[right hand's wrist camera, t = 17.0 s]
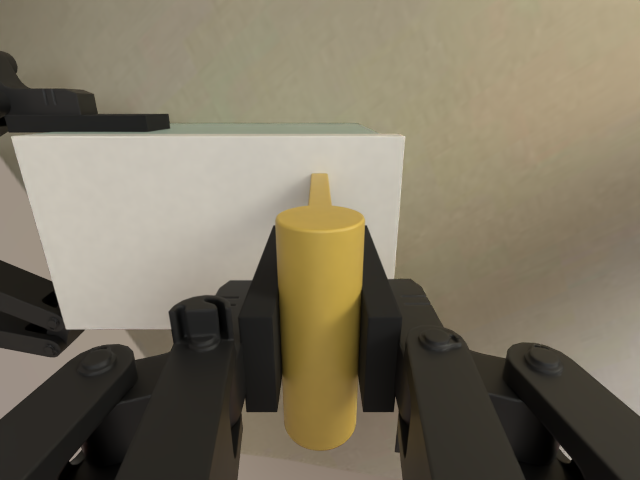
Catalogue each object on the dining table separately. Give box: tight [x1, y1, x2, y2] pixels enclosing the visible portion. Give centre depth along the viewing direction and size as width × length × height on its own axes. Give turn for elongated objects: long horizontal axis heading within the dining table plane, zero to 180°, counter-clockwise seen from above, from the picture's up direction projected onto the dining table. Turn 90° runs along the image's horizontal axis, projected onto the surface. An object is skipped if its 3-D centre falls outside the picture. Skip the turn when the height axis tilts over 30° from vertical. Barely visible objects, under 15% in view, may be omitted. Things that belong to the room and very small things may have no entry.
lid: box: [11, 134, 405, 451], centre depth 13 cm, size 16×9×9 cm, turn 90°
